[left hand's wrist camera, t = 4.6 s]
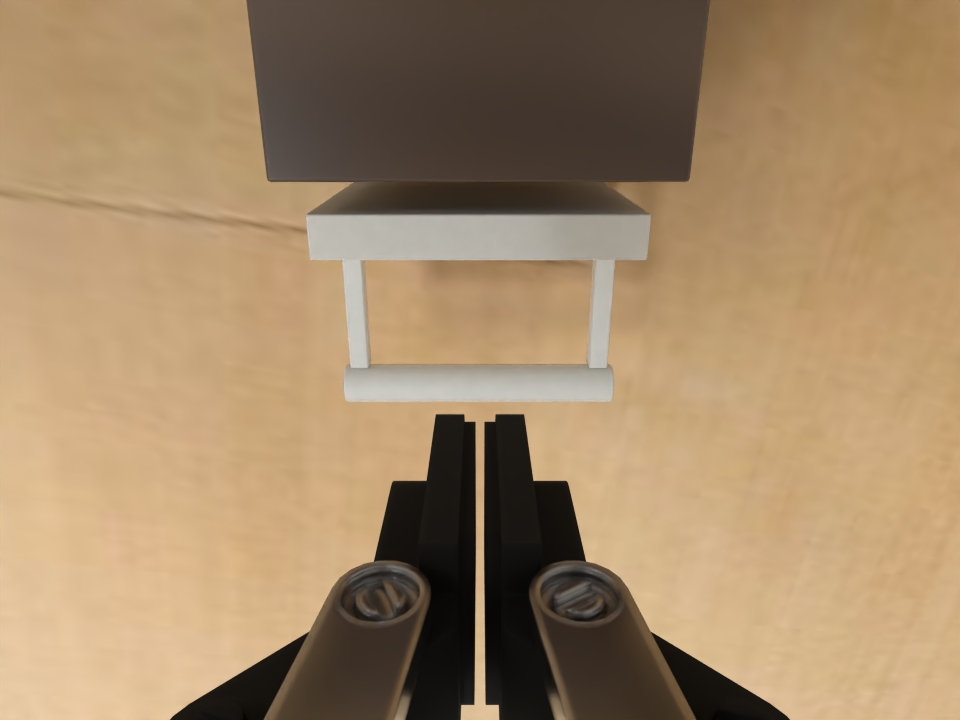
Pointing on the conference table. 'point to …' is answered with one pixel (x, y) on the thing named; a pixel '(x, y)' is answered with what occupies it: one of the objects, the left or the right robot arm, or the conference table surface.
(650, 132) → the cabinet
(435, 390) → the drawer
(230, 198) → the conference table surface
